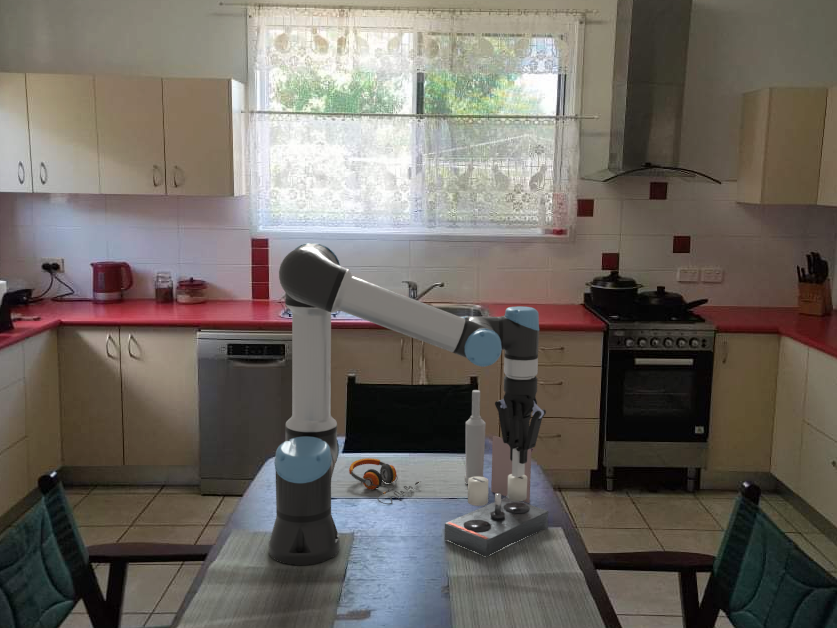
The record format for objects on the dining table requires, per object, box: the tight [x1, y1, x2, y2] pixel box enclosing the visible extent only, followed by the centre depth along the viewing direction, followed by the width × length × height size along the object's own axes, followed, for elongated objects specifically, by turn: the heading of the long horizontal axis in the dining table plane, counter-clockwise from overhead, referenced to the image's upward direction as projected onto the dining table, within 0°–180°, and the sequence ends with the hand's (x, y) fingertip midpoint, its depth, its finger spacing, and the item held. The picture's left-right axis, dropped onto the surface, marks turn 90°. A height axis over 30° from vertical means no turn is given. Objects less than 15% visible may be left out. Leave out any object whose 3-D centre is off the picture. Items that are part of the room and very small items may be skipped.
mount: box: [444, 496, 549, 558], centre depth 183 cm, size 12×22×4 cm, turn 135°
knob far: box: [506, 474, 527, 502], centre depth 187 cm, size 4×4×5 cm
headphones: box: [348, 457, 422, 505], centre depth 210 cm, size 17×5×20 cm
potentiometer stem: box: [490, 493, 505, 520], centre depth 182 cm, size 3×3×5 cm
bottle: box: [464, 389, 486, 485], centre depth 212 cm, size 5×5×25 cm
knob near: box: [467, 476, 489, 507], centre depth 177 cm, size 4×4×5 cm
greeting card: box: [490, 435, 533, 504], centre depth 205 cm, size 11×7×15 cm, turn 16°
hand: (518, 475), depth 186 cm, fingers closed
